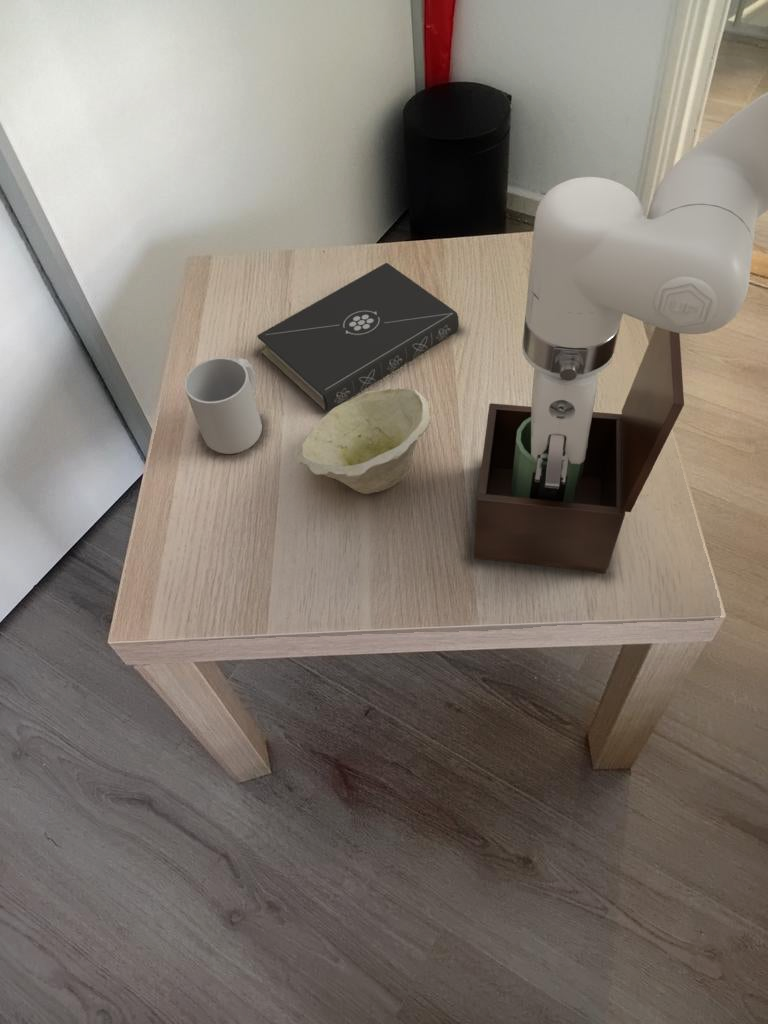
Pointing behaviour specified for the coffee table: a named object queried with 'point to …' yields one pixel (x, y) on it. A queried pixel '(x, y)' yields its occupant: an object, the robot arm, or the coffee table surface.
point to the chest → (550, 524)
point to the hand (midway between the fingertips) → (547, 470)
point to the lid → (650, 411)
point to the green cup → (527, 466)
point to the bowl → (368, 439)
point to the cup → (225, 403)
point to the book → (357, 335)
